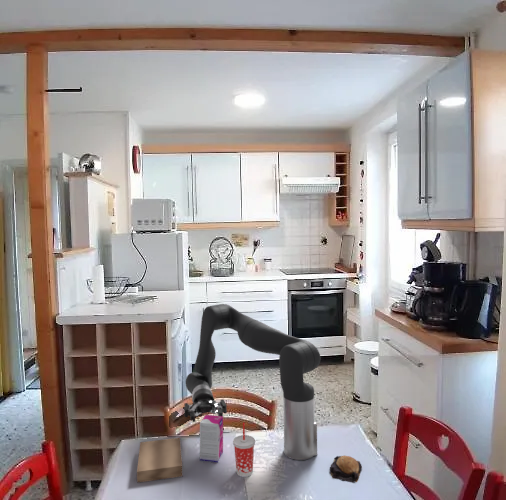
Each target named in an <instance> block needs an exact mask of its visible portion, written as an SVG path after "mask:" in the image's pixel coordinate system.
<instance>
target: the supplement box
mask: <svg viewBox="0 0 506 500" xmlns="http://www.w3.org/2000/svg"><path fill="white" fill-rule="evenodd" d="M223 453H224V415H223V416H218V415H214V414H213V415H211V414H205V415H204V417H203V418H202V419H201V420H200V422H199V461H200V462H206V463H219V461H220V459H221V457H222V455H223Z"/></svg>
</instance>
